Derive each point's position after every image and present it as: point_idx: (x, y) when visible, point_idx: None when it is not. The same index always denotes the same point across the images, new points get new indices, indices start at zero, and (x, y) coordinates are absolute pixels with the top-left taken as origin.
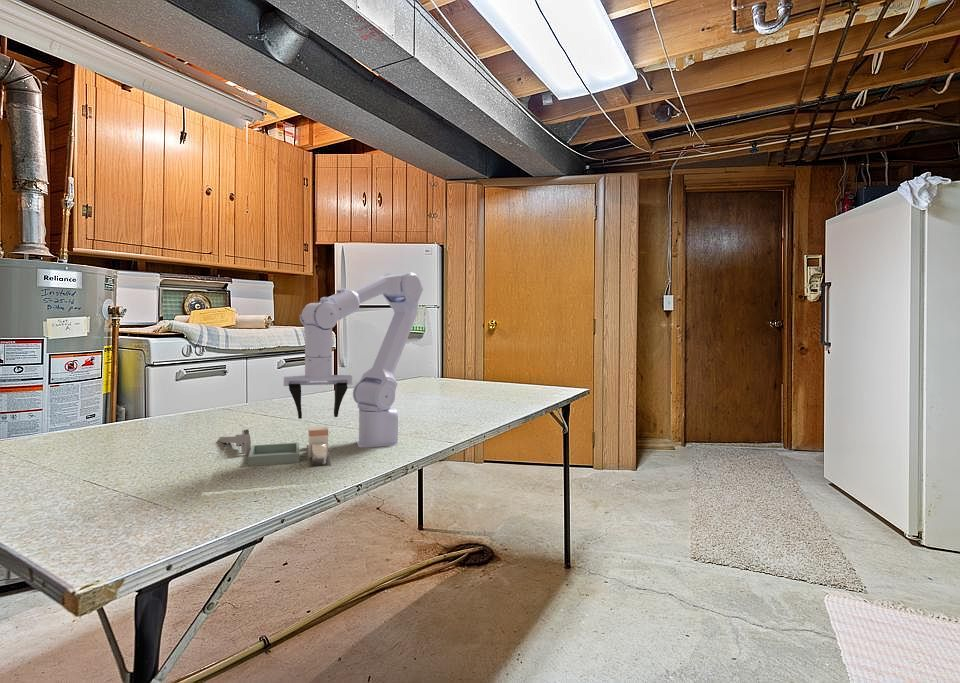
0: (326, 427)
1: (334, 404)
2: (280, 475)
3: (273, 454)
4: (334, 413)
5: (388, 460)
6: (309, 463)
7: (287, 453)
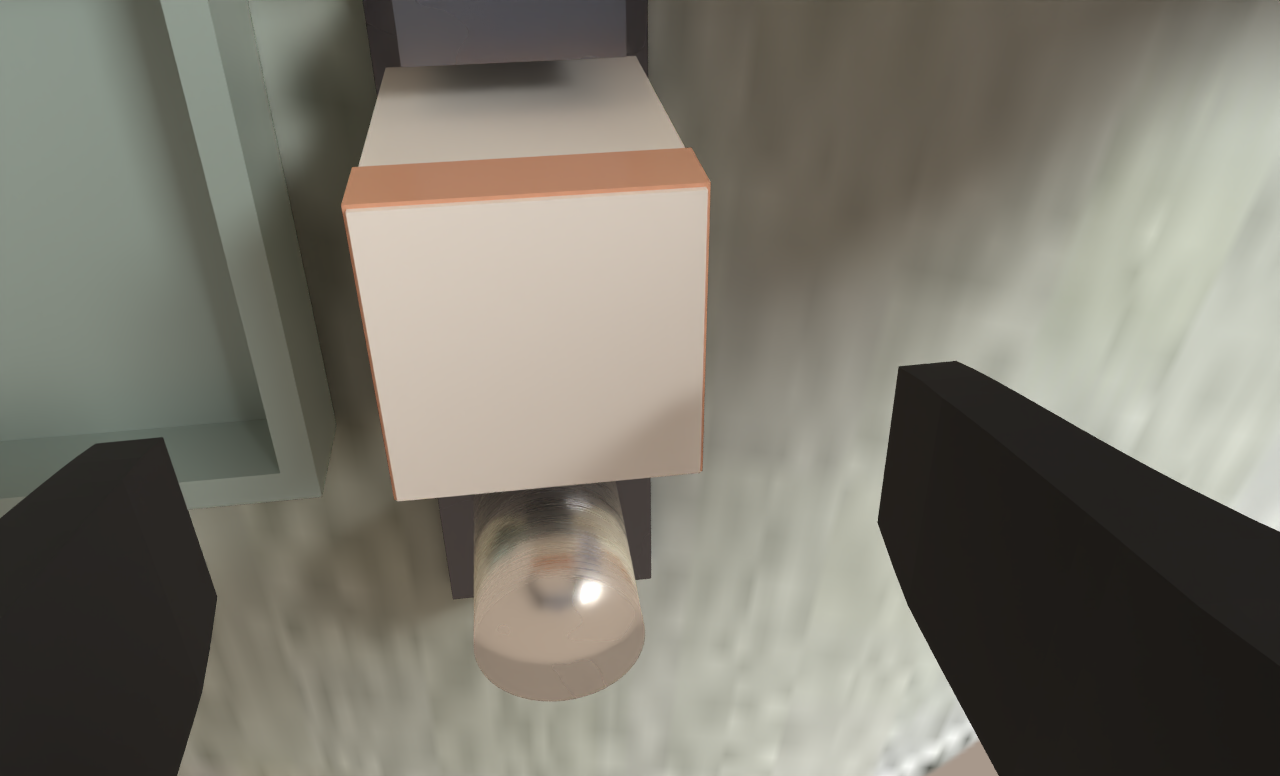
0: (687, 334)
1: (1035, 495)
2: (229, 688)
3: (3, 498)
4: (908, 525)
5: (1178, 430)
6: (447, 504)
7: (75, 39)
